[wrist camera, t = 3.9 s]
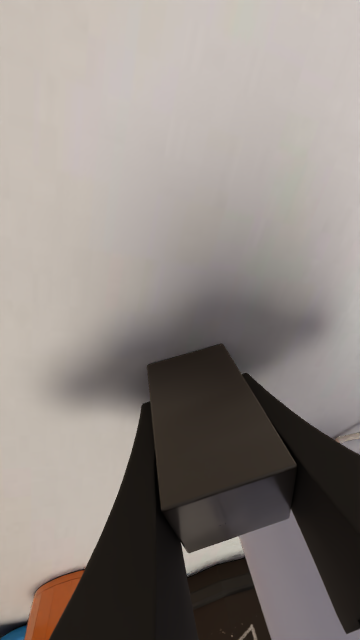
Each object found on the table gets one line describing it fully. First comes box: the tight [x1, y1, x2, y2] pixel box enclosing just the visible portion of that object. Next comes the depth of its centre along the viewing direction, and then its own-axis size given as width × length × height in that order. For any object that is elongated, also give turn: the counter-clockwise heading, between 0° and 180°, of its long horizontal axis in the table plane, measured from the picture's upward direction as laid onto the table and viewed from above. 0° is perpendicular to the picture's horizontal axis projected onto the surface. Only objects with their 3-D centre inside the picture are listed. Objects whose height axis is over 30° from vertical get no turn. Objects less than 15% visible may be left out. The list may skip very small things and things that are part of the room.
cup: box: [23, 570, 84, 640], centre depth 22 cm, size 10×10×6 cm
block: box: [147, 344, 297, 553], centre depth 10 cm, size 4×4×6 cm
